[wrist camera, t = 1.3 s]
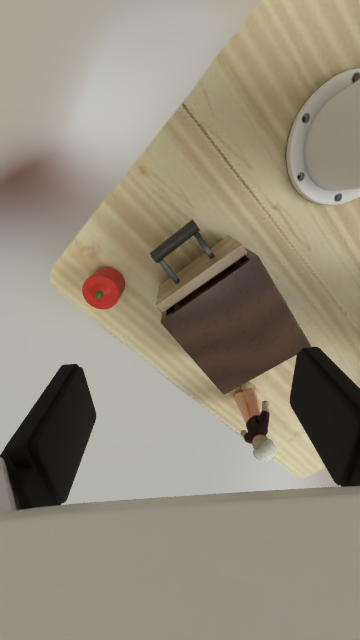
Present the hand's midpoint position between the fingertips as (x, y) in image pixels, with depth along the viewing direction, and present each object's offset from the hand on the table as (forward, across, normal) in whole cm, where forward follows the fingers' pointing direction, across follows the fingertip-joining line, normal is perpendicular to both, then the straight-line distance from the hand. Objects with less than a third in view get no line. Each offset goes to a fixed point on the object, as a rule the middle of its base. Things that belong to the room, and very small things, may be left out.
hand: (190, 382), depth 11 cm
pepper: (+26, +10, +2) cm, 28 cm away
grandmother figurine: (+26, -10, +25) cm, 37 cm away
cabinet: (+26, -6, +7) cm, 27 cm away
